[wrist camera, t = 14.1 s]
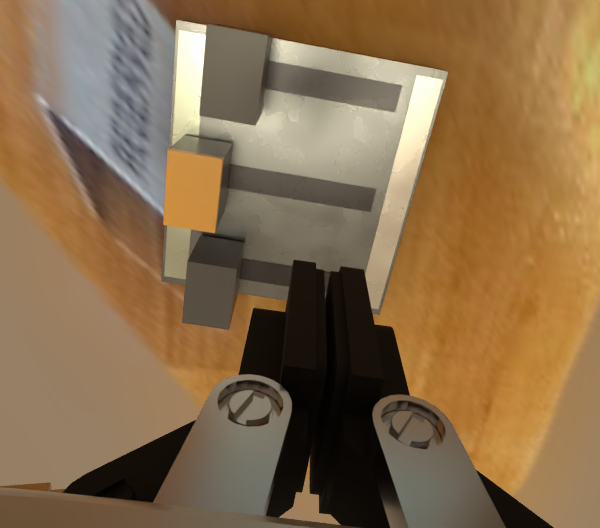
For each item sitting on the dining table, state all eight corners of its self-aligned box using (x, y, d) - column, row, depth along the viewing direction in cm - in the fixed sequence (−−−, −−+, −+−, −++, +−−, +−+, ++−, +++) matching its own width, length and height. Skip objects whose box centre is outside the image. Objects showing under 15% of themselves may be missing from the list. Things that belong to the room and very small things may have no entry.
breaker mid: (232, 143, 31) (222, 159, 27) (225, 209, 32) (214, 233, 29) (184, 135, 30) (167, 150, 27) (179, 202, 32) (163, 225, 28)
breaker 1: (272, 34, 28) (267, 35, 24) (261, 113, 30) (255, 125, 26) (219, 24, 28) (206, 23, 24) (212, 104, 30) (199, 115, 26)
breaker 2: (244, 242, 33) (236, 269, 30) (236, 297, 35) (228, 329, 32) (200, 235, 33) (187, 261, 29) (195, 291, 35) (182, 322, 31)
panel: (441, 69, 30) (449, 71, 29) (376, 304, 38) (379, 315, 36) (182, 20, 29) (176, 19, 28) (166, 271, 37) (161, 281, 35)
